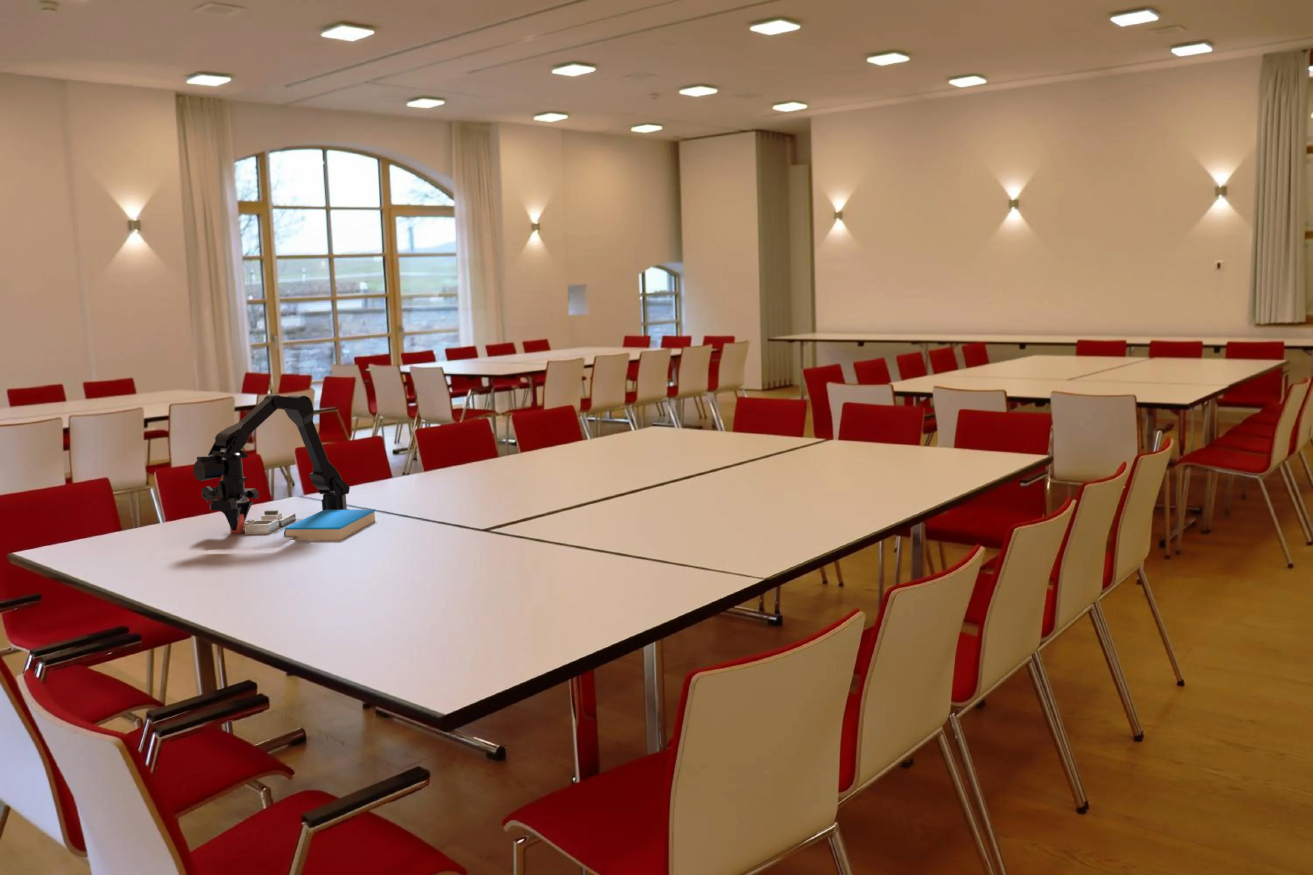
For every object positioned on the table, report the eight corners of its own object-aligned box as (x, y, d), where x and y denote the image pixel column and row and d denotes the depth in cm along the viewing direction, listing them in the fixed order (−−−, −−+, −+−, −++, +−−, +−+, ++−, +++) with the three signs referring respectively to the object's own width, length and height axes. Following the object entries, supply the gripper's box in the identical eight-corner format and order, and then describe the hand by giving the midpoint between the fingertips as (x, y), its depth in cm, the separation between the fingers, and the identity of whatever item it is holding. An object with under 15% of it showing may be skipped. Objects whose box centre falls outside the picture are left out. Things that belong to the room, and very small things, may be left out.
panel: (303, 522, 327) (302, 510, 326) (275, 537, 307) (274, 525, 307) (252, 523, 328) (251, 511, 328) (221, 538, 308) (220, 526, 308)
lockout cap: (247, 530, 313) (246, 513, 312) (241, 533, 309) (239, 516, 308) (234, 530, 313) (232, 513, 312) (227, 533, 309) (226, 516, 309)
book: (375, 509, 326) (341, 526, 301) (376, 523, 326) (342, 541, 302) (321, 509, 328) (283, 526, 304) (322, 523, 329) (284, 541, 304)
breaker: (282, 524, 320) (281, 509, 319) (276, 527, 316) (275, 512, 315) (267, 524, 320) (266, 509, 319) (262, 527, 316) (260, 512, 315)
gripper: (220, 470, 319) (225, 522, 321) (189, 481, 300) (194, 536, 302) (257, 469, 318) (262, 521, 320) (227, 480, 299) (232, 535, 301)
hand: (237, 528), depth 311 cm, fingers closed on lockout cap, 4 cm apart
